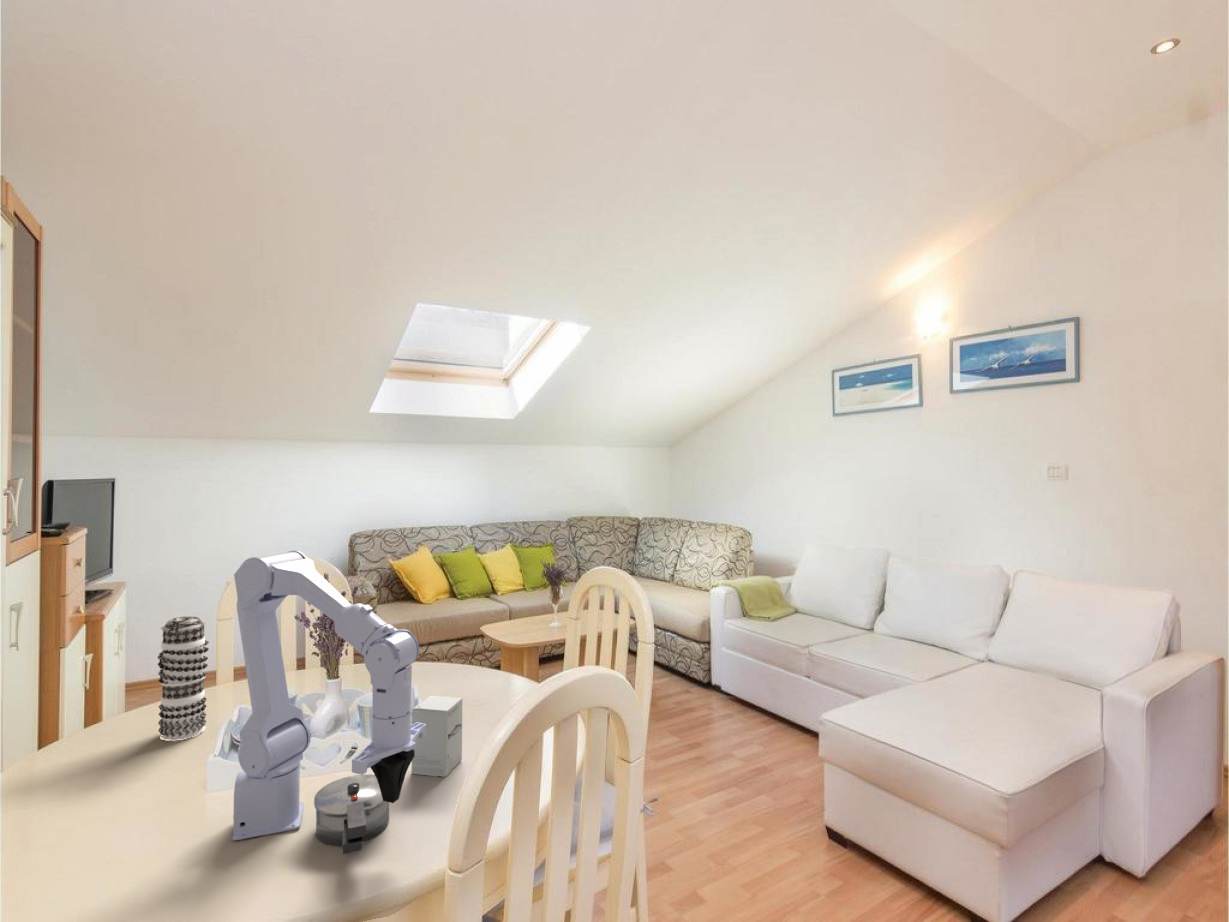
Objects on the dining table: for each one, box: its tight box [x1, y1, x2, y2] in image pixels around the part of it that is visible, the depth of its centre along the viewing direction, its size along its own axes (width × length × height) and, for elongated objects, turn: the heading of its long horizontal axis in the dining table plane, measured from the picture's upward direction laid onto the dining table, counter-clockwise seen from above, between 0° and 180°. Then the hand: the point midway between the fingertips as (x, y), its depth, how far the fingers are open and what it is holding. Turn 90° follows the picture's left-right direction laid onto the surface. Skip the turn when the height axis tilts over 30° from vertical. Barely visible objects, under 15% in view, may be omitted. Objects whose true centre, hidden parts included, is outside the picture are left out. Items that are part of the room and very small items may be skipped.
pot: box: [315, 801, 390, 855], centre depth 101 cm, size 11×18×4 cm, turn 22°
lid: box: [313, 774, 385, 840], centre depth 101 cm, size 18×12×2 cm, turn 24°
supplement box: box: [410, 695, 463, 778], centre depth 124 cm, size 7×7×13 cm
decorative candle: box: [157, 616, 210, 740], centre depth 139 cm, size 9×9×25 cm
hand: (390, 799), depth 99 cm, fingers closed
